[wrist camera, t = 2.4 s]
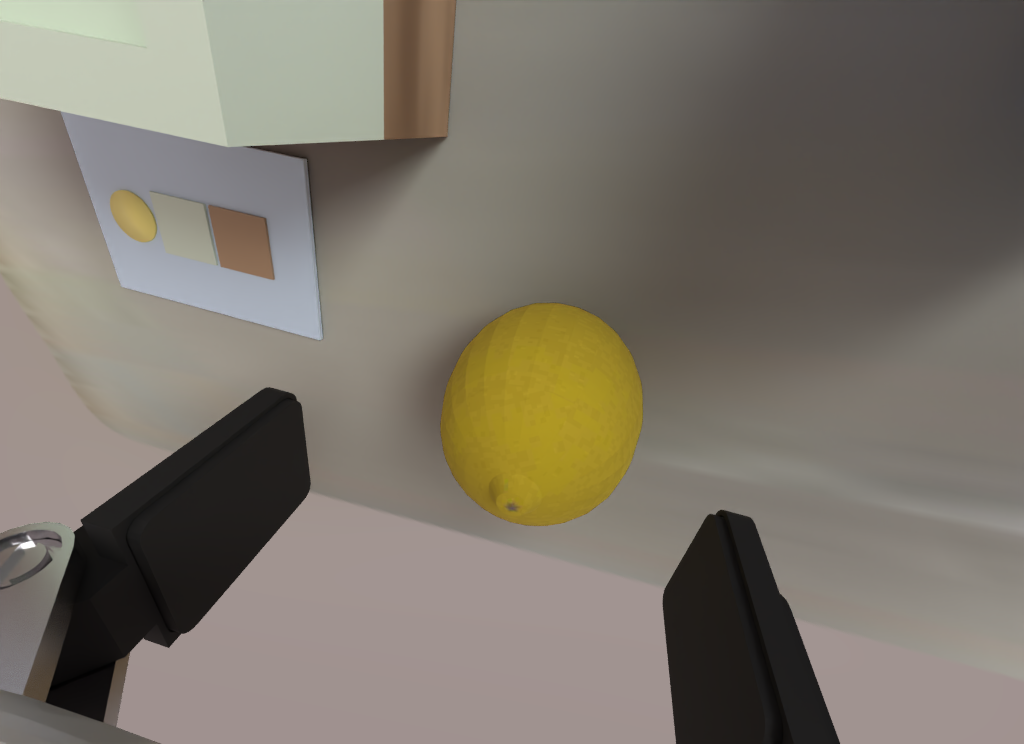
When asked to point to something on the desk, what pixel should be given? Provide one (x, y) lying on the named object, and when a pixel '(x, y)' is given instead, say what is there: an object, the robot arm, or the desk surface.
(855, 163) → the desk surface
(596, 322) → the lemon
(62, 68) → the top brick
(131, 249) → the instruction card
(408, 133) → the base brick
